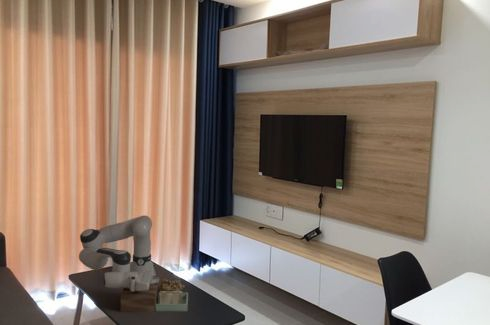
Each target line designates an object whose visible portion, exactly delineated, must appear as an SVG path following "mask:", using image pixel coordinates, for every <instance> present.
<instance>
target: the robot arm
mask: <svg viewBox="0 0 490 325" xmlns="http://www.w3.org/2000/svg"><path fill="white" fill-rule="evenodd" d="M152 226H153V221H152V219H151V217H150V216H149V215H145V214H144V215H140V216H137V217H134V218H131V219H128V220H125V221H122V222H118V223H114V224H110V225H106V226H103V227H101V228H99V229H95V228H94V229H93V228H88V229H85V230H83V231H82V233H80V234H79V240H80V242H81V245H82V247H83V249H82V250H80V252H79V254H78V259H79V261H80V262H81V263H82V264H83V266H85V267H87V268H89V269H91V270H93V271H100V270H102V269H103V268H104V267H106V266H107V264H108V261H109V258H110V259H111V261H112V262H111V263H112V270H111V271H107V272H104V274H103V286H104V287H105V288H108V289H121V288H129V289H130V291H135V290H136V291H145V290H148V289H149V286H150V284H153V283H158V284H159V283H160V277H155V276H156V275H157V274H156V270H155V267H154V262H153V260H152V254H151V252H152V251H151V250H152V247H151V246H152V244H151V243H152V242H151V229H152ZM131 237H132V238H133V239H132V241H133V254H132V255H131V253H130V252H129V251H127V250H125V249H115V248H109V247H104V245H103V244H109V243H115V242H118V241H121V240H125V239H129V238H131ZM131 257H132V258H131ZM131 260H132V261H131Z"/></svg>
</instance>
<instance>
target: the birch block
mask: <svg viewBox="0 0 490 325" xmlns="http://www.w3.org/2000/svg"><path fill="white" fill-rule="evenodd" d="M182 293H183V291H182V290H180V291H161V292H160V304H182Z"/></svg>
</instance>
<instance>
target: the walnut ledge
mask: <svg viewBox="0 0 490 325" xmlns="http://www.w3.org/2000/svg"><path fill="white" fill-rule="evenodd" d="M158 293H159V283H153V284H150V286H149V289H148V290H145V291H136V290H135V291H130V289H129V288H123V289H122V291H121V292H120V313H122V312H123V313H138V312H139V313H140V312H141V313H149V312H150V313H153V312H154V313H155V312H156V304H157V302H158Z"/></svg>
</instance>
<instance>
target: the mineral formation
mask: <svg viewBox="0 0 490 325" xmlns="http://www.w3.org/2000/svg"><path fill="white" fill-rule="evenodd" d="M159 287H160V290H158V293H160V292H161V291H182V290H183V289H184V288H185V285H184V284H182V283H181V280H180V279H178V280H168V279H165V278H164V279H163V278H162V280H161V281H160V285H159Z"/></svg>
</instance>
